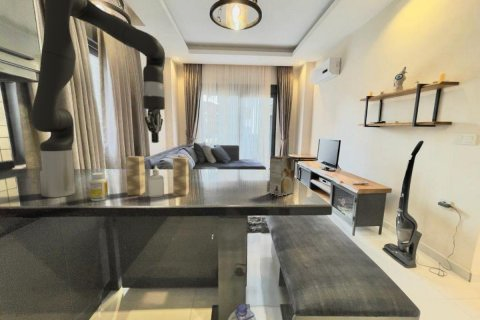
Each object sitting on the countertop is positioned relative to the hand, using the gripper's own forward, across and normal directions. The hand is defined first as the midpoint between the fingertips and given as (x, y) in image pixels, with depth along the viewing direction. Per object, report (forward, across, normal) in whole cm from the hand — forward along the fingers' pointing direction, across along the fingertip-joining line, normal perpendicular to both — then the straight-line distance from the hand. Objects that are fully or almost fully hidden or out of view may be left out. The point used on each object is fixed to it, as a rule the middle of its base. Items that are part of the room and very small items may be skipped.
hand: (155, 142), depth 84 cm
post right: (+21, -3, +9) cm, 23 cm away
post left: (+21, -3, -9) cm, 23 cm away
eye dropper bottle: (+21, 0, 0) cm, 21 cm away
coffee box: (+21, -6, +51) cm, 56 cm away
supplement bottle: (+21, +5, -19) cm, 29 cm away
